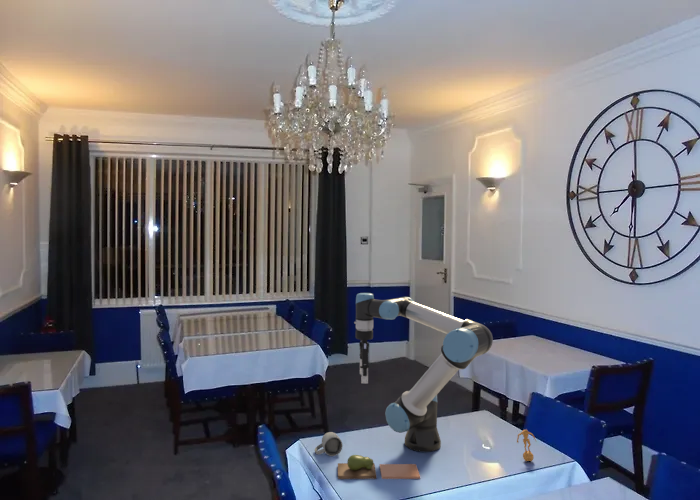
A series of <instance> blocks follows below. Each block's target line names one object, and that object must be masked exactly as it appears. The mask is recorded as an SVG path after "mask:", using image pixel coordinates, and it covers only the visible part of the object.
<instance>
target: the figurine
mask: <svg viewBox="0 0 700 500" xmlns="http://www.w3.org/2000/svg"><path fill="white" fill-rule="evenodd" d="M521 435H523V438H522V442H523V445H524V450H525V451H524V452H523V454H522V458H523V460H524V461H525V462H527V461H531V462H533V460H534V454H533V453H532V451H531V449H530V447H531V445H532V444H531V441H530V438H529V435H531V436H532V438H533V439H534V440H535V442H537V439H536V437H535V435H534V434H533V433H532V432H530V431H528V429H523V430H522V431H520V432H519V433H518V434H517V439H516V443H517V444H519V442H520V441H519V438H520V436H521Z"/></svg>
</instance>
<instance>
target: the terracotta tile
mask: <svg viewBox="0 0 700 500" xmlns="http://www.w3.org/2000/svg"><path fill="white" fill-rule="evenodd" d="M379 472H380V475H381V479H382V480H391V479H392V480H399V479H400V480H402V479H403V480H408V479H409V480H416V479H417V480H420V479H421V475H420V472H419V469H418V467H417V464H416V463H415V464H414V463H405V464H404V463H403V464H402V463H399V464H398V463H393V464H392V463H390V464H389V463H388V464H387V463H383V464H382V463H380V464H379Z"/></svg>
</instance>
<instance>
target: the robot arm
mask: <svg viewBox="0 0 700 500" xmlns="http://www.w3.org/2000/svg"><path fill="white" fill-rule="evenodd" d="M355 296H356V297H355V321H354V322H353V323H354V324H355V339H356V340H358V341H359V340H360V341H359V344H358V345H359V375H360V376H361V377H360V378H361V381H360V383H361V384H369V347H370V342H369V341H370V340H373V338H374V330H373V329H374V318H378V319H382V320H395V319H396V318H397V317H399V316H400V317H404V318H406V319H409V320H410V321H413V322H416V323H418V324H421V325H424V326H426V327H429V328H431V329H433V330H436V331H437V332H441V333H443V334H446V335H445V337H443V341H442V345H441V347H440V355H438V357H437V358H436V359H435V360H434V361H433V363H432V364H431V365H430V366H429V368H428V369H427V370H426V371H425V372H424V374H423V375H422V376H421V377H420V379H418V381H417V382H416V383H415V384H414V385H413V387H412V388H411V389H410V390H406V391H404V392H403V393H402V394H401V395H400V396H399V397H398V398H397V399H396V401H395V402H391V403H389V405H388V406H387V407H386V409H385V413H384V415H385V420H386V424H388V426H389V428H390V429H392V431H394V432H396V433H401V434H402V433H406V434H405V436H404V445H405V446H406V447H407V448H408V449H410V450H413V451H416V452H422V453H424V452H425V453H429V452H435V451H438V450H440V449H441V445H442V440H441V437H440V434H439V429H438V422H437V421H438V394H439V393H440V392H441V390H442V389H444V387H445V386H446V385H447V384H448V383H449V381H450V380H451V379H452V378H453V377H454V376H455V375H456V374H457V372H459V370H465V369H467V368H468V366H469V365H470V364H471V363H472V362H473V361H474V359H476V358H477V357H480V356H482V355H485V354H486V353H488V352H489V351H490V350H491V348H492V346H493V343H494V340H493V339H494V337H493V333H492V332H491V330H490V329H489V328H488V327H487V326H485V325H484V324H482V323H479V322H477V321H473V320H472V319H468V318H466V319H465V320H464V319H462V318H458V317H455V316H453V315H451V314H447V313H444V312H443V311H439V310H437V309H434V308H431V307H429V306H426V305H423V304H420V303H418V302H415V301H414V299H413V298H411V297H409V296H400V297H396V298H390V299H389V298H388V299H376V298H375V297H374V296H375V295H374V293H371V292H360V293H357V294H356V295H355ZM368 340H369V341H368Z"/></svg>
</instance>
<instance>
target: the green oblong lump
mask: <svg viewBox="0 0 700 500" xmlns="http://www.w3.org/2000/svg"><path fill="white" fill-rule="evenodd" d="M346 461H347V462H346V463H347V464H348V467H349V468H350V469H351V470H359V469H361V468H363V467H364V468H367V469H372V466H373V463H374V460H373V459H372V458H371V457H370V456H369V457H368V456H363V455H361V454H360V455H359V454H352V455H350V456H349V457H348V459H347V460H346Z"/></svg>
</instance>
